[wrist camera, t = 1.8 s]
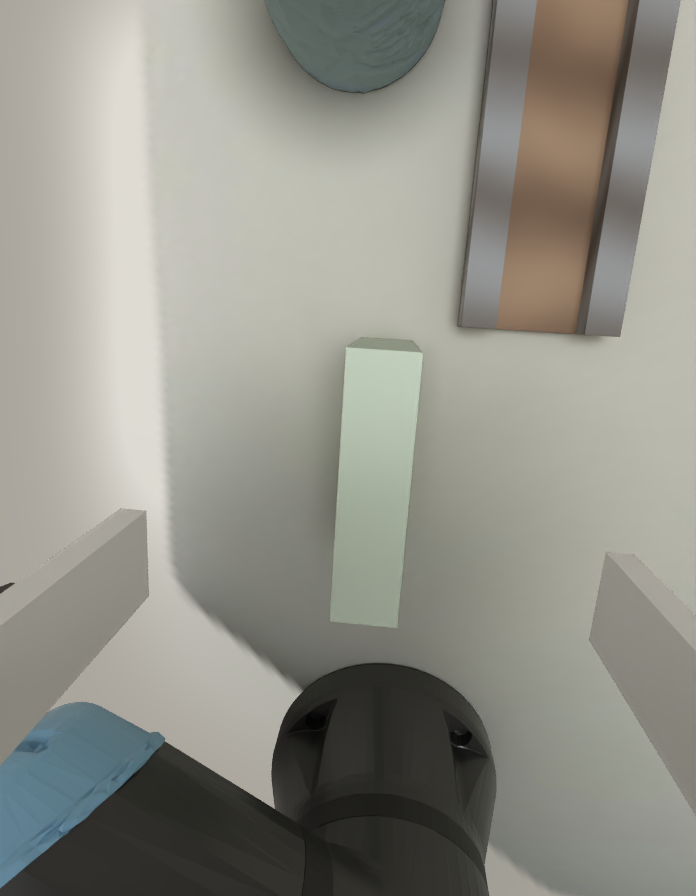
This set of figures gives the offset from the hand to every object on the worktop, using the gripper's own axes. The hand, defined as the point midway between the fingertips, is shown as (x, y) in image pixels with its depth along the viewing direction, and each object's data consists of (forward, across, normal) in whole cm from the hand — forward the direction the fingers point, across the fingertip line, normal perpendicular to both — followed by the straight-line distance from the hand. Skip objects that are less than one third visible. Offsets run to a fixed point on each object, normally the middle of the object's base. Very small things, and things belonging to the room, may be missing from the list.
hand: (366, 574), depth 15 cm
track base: (+18, -8, -19) cm, 27 cm away
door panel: (+18, 0, 0) cm, 18 cm away
